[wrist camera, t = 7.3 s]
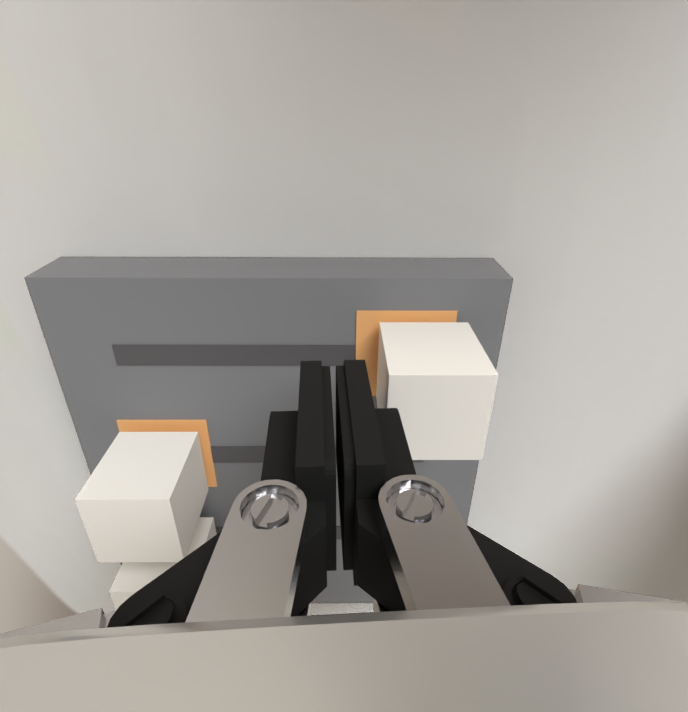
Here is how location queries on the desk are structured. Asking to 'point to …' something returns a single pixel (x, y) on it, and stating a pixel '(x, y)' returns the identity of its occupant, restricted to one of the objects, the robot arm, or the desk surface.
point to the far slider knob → (154, 566)
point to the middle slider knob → (145, 497)
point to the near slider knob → (437, 387)
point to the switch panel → (243, 350)
